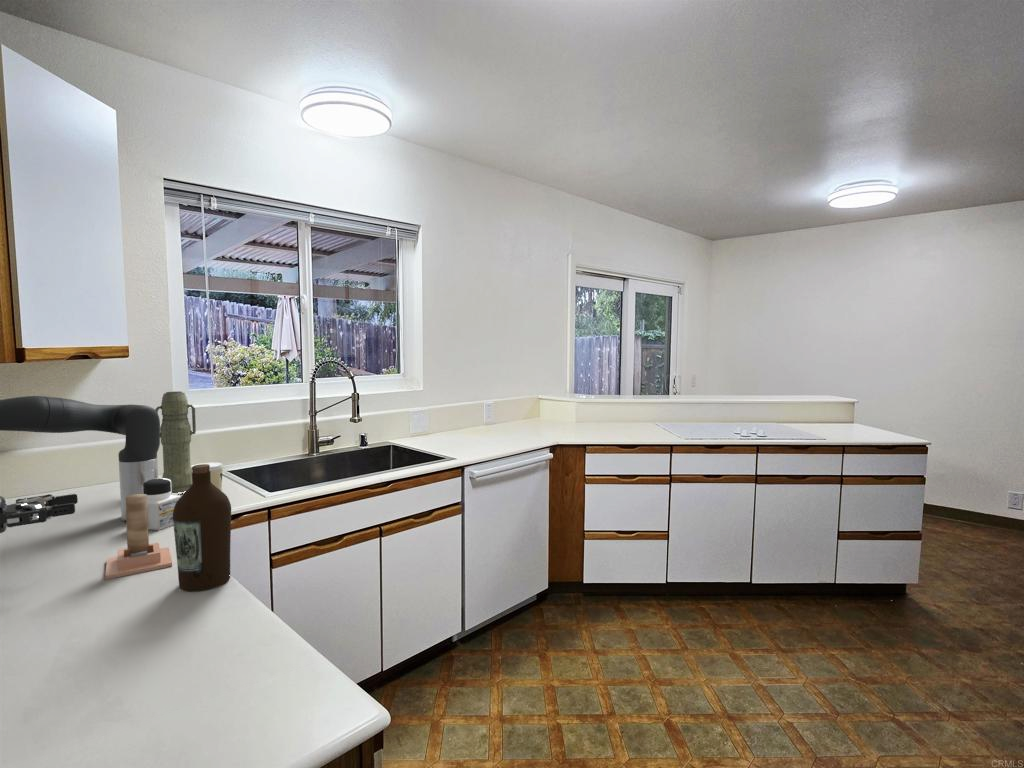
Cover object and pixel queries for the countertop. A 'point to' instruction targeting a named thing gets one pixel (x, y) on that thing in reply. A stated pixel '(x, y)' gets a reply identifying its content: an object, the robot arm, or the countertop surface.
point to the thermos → (176, 439)
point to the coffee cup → (213, 473)
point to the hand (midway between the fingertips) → (76, 503)
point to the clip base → (138, 561)
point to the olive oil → (202, 533)
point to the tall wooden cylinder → (137, 523)
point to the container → (159, 503)
